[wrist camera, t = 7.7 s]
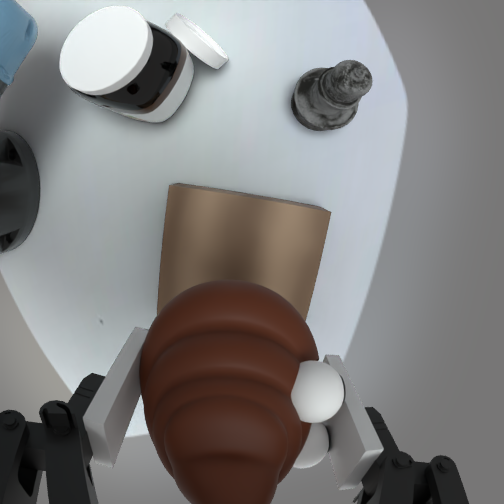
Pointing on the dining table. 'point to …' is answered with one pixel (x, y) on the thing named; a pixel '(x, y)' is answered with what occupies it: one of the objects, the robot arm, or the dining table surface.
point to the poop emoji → (235, 392)
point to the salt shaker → (330, 95)
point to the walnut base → (240, 242)
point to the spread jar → (135, 61)
